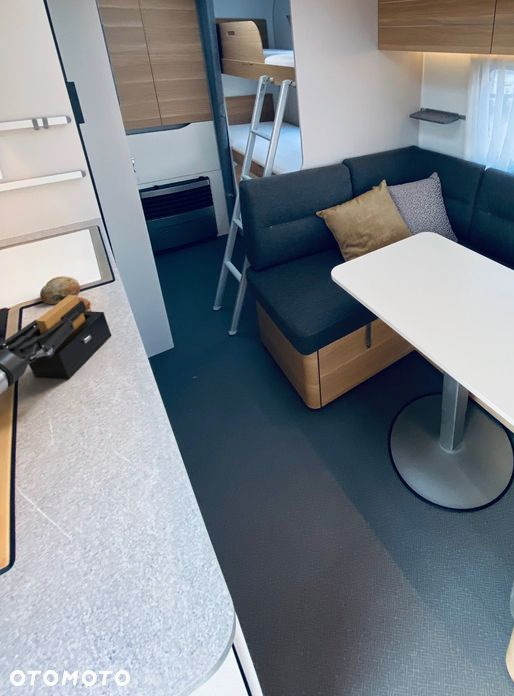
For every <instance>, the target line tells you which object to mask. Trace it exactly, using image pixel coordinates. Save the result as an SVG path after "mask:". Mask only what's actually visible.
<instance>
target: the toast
mask: <svg viewBox="0 0 514 696" xmlns="http://www.w3.org/2000/svg"><path fill="white" fill-rule="evenodd" d="M77 297H78V295H68V296H67V297H66V298H64V299H63V300H62V301H60V302H59V303H58V304H54V306H53V307H52V308H50V309H49V310H47V311H46V312H45V313H44V314H43V315H41V316H40V317H38V318H37V320H36V319H35V320H36V323H37V325H38V328H39V330H40V333H41V334H43V333H44V332H46V331H47V330H48V329H50V328H51V327H52V326H54V325H55V324H56V323H58V322H59V321H60V320H62V319H61V317H62V316H63V315H64V314H66V313H67V312H68V311H69V310H70V309H72V308H73V307H74V306H75V305H76V304H78V303H79V301H78V298H77ZM84 321H85V317H84V315H83V313H82V314H81V315H80V316H79V318H77V319H76V320H75V321H74V322H73V326H74V328H75V329H77V328H78V327H79V326H80V325H81V324H82V323H83V322H84ZM75 329H74V330H75Z"/></svg>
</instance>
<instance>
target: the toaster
mask: <svg viewBox="0 0 514 696" xmlns="http://www.w3.org/2000/svg"><path fill="white" fill-rule="evenodd" d="M83 315H84V317H85V321H84V322H83V323H82V324H81V325H80V326H79V327H78V328H77V329H75V330H74V331H73V332H72V333H71V334H70V335H69V336H68V337H67V338H66V339H65V340H64V341H63V342H62V344H61V345H60V346H59V347H58V348H57V349H56V350H55V352H54V354H53V356H52V357H50V358H46V356H42V357H38V358H37V360H35V361H34V362H32V363H30V364H29V365H28V367H29V368H30V370H31V373H32V375H33V376H34V378H38V379H39V378H40V379H57V380H70V379H72V378H73V376H74V375H75V374H76V373H77V372H79V370H80V369H81V368H82V367H83V366H84V365H85V364H86V363H87V362H88V361H89V360H90V359H91V358H92V357H93V356H94V355H95V354H96V353H97V352H98V350H99V349H100V348H101V347H102V346H103V345H104V344H105V343H106V342H107V341H108V340H109V339H110V338H111V337H112V333H111V330H110V326H109V324H108V320H107V317H106V315H105V312H104V311H92V310H91V311H84V312H83Z"/></svg>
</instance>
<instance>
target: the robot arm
mask: <svg viewBox="0 0 514 696" xmlns="http://www.w3.org/2000/svg"><path fill="white" fill-rule="evenodd" d="M85 310H87V309H86V307H85V304H84V301H80V302H79V303H78V304H76V305H75V306H74V307H73V308H72V309H70V310H69V311H68V312H67V313H66V314H64V315H63V316H62V317H61V319H62V320H60V321H59V322H58V323H56V324H55V325H54V326H52V327H51V328H50V329H48V330H47V331H46V332H44V333H43V334H41V333H40V330H39V328H38V325H37V323H36V320H37V319H38V318H37V319H34V320H33V321H32V322H30V323H28V324H27V325H26V326H24V327H23V328H21V329H20V330H18V331H17V332H15V333H14V334H12V335H11V336H8V338H6V339H5V340H3V341H1V342H0V395H2V394H3V393H4V392H5V391H6V390H8V388H9V387H11V386H12V385H13V384H14V383H16V382H17V381H18V380H19V379H21V377H23V376H24V374H25V372H26V369H27V368H28V367H29V364H30V363H32V362H34V361H35V360H37V358H38V357H42V356H46V358H50V357H52V356H53V354H54V352H55V350H56V349H57V348H58V347H59V346H60V345H61V344H62V342H63V341H64V340H65V339H66V338H67V337H68V336H69V335H70V334H71V333H72V332H73V331H74V329H75V328H74V326H73V322H74V321H75V320H76V319H77V318H79V316H80V315H81V314H82V313H83V312H84V311H85Z"/></svg>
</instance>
